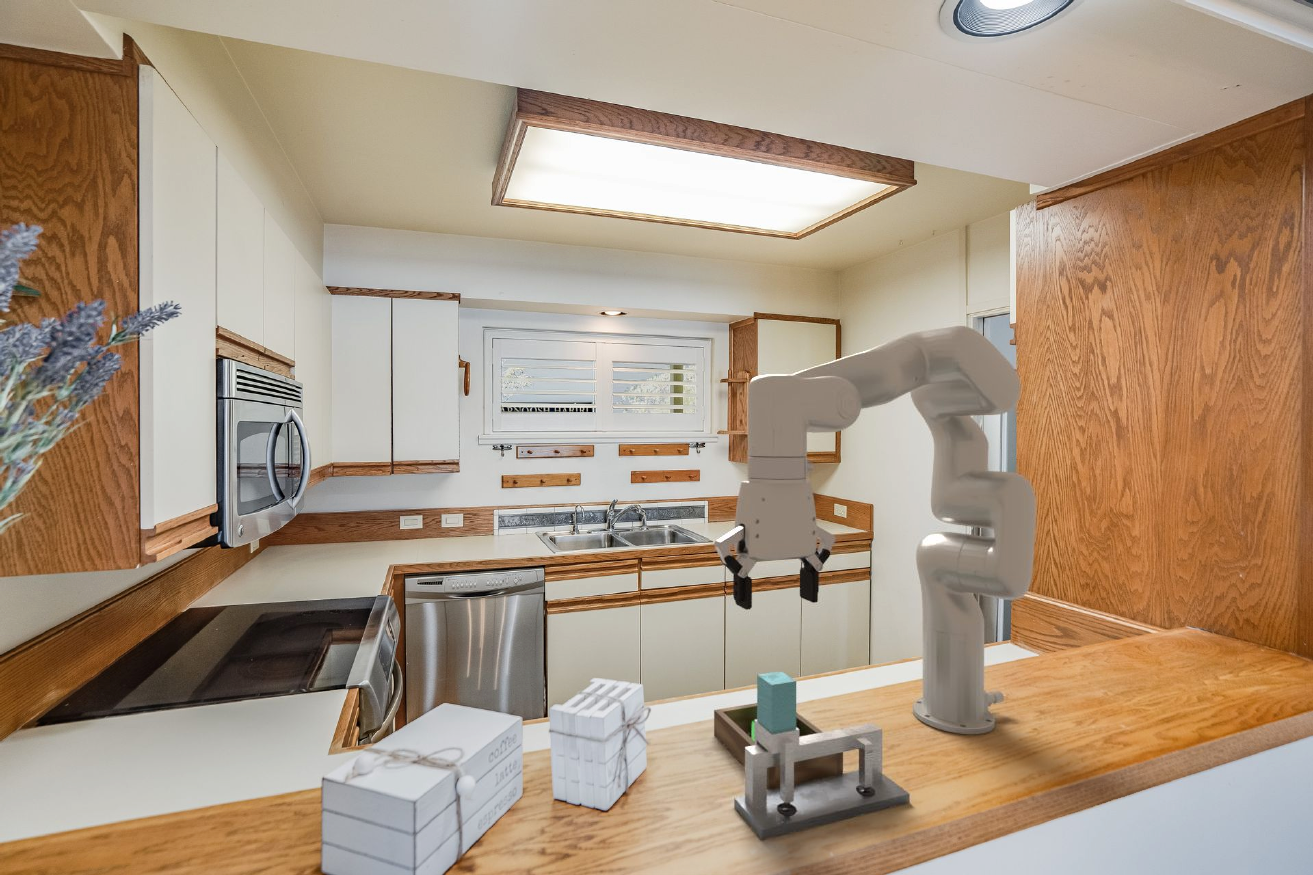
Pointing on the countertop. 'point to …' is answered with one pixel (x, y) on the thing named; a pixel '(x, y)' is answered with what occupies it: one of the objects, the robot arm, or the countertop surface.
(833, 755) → the parts tray
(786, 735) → the sliding leg
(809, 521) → the robot arm
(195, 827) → the countertop surface
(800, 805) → the bolt plate
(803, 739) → the metal bridge frame
